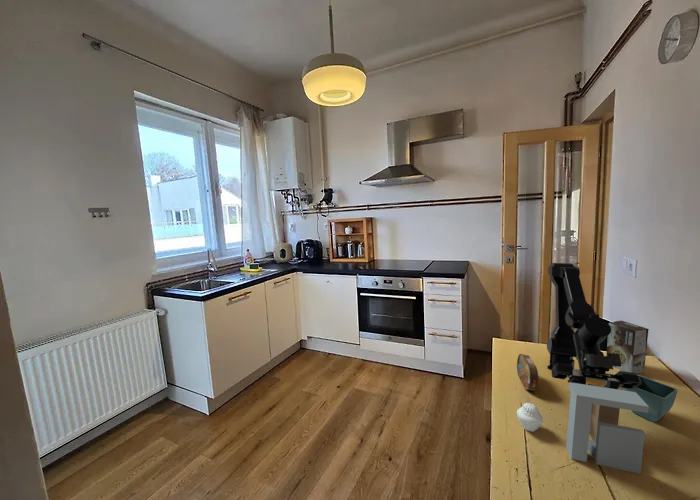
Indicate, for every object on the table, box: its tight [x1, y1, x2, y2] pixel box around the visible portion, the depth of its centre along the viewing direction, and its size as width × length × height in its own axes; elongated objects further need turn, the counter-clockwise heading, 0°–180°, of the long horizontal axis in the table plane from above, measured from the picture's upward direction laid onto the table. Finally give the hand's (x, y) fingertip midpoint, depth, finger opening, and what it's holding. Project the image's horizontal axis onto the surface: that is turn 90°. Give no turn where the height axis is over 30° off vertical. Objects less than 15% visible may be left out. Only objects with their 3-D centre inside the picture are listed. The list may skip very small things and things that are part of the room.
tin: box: [516, 353, 539, 392], centre depth 104 cm, size 15×3×8 cm, turn 164°
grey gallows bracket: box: [565, 382, 649, 475], centre depth 72 cm, size 6×13×16 cm, turn 69°
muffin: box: [516, 402, 544, 433], centre depth 83 cm, size 6×6×7 cm
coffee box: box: [605, 320, 650, 374], centre depth 112 cm, size 9×6×16 cm
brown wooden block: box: [587, 383, 621, 442], centre depth 79 cm, size 8×4×12 cm, turn 159°
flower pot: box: [624, 374, 679, 423], centre depth 87 cm, size 9×9×9 cm
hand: (600, 409), depth 79 cm, fingers closed on brown wooden block, 4 cm apart
